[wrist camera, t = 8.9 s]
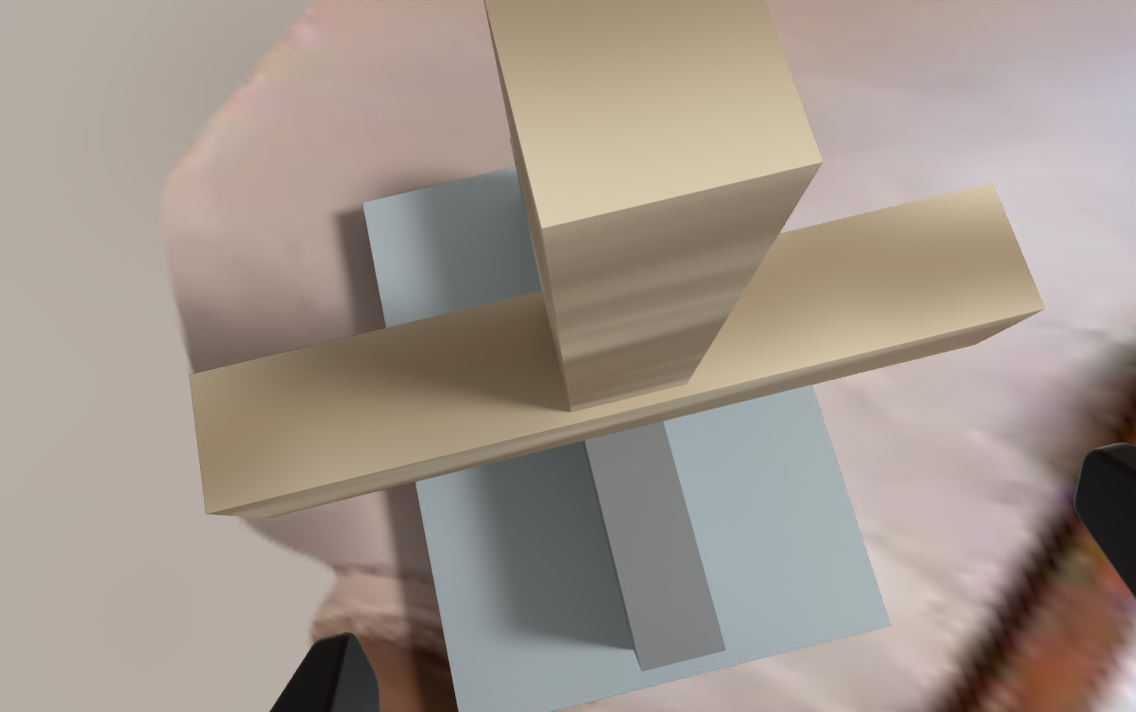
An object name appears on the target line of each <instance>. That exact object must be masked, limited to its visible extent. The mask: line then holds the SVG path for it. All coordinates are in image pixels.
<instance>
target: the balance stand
mask: <svg viewBox="0 0 1136 712" xmlns="http://www.w3.org/2000/svg"><path fill="white" fill-rule="evenodd" d="M510 141H511V146H512V150H513V155H514V160H515V165H516V167H514V168H509V169H505V170H501V171H497V172H492V173H488V174H484V175H479V176H475V177H471V178H467V179H462V180H458V181H454V182H449V183H445V184H441V185H437V186H432V187H428V188H424V189H419V190H415V191H411V192H407V193H402V194H398V195H394V196H389V197H385V198H381V199H377V200H372V201H368V202H364V203H363V208H364V213H365V219H366V224H367V229H368V235H369V240H370V245H371V250H372V256H373V261H374V266H375V272H376V277H377V282H378V288H379V293H380V298H381V303H382V309H383V314H384V319H385V325H386V328H387V327H392V326H396V325H400V324H404V323H408V322H413V321H417V320H421V319H425V318H429V317H433V316H438V315H442V314H446V313H450V312H454V311H459V310H463V309H467V308H471V307H475V306H479V305H484V304H488V303H492V302H496V301H500V300H505V299H509V298H513V297H517V296H521V295H526V294H530V293H534V292H538V291H542V290H541V285H540V280H539V275H538V270H537V265H536V260H535V255H534V250H533V245H532V240H531V235H530V230H529V225H528V220H527V215H526V210H525V205H524V200H523V194H522V189H521V184H520V179H519V174H518V169H517V164H516V159H515V154H514V149H513V144H512V139H511V138H510ZM415 484H416V489H417V494H418V499H419V505H420V510H421V515H422V521H423V526H424V531H425V537H426V542H427V547H428V552H429V558H430V563H431V568H432V574H433V579H434V584H435V590H436V595H437V600H438V605H439V611H440V616H441V621H442V627H443V632H444V637H445V642H446V648H447V653H448V658H449V664H450V669H451V674H452V680H453V685H454V690H455V695H456V701H457V706H458V711H459V712H552V711H556V710H560V709H564V708H568V707H572V706H576V705H580V704H583V703H587V702H591V701H595V700H599V699H603V698H607V697H611V696H615V695H619V694H623V693H627V692H631V691H635V690H639V689H642V688H646V687H650V686H654V685H658V684H662V683H666V682H670V681H674V680H678V679H682V678H686V677H690V676H694V675H698V674H701V673H705V672H709V671H713V670H717V669H721V668H725V667H729V666H733V665H737V664H741V663H745V662H749V661H753V660H757V659H760V658H764V657H768V656H772V655H776V654H780V653H784V652H788V651H792V650H796V649H800V648H804V647H808V646H812V645H815V644H819V643H823V642H827V641H831V640H835V639H839V638H843V637H847V636H851V635H855V634H859V633H863V632H867V631H871V630H874V629H878V628H882V627H886V626H890V625H891V624H890V621H889V618H888V615H887V612H886V609H885V606H884V603H883V600H882V597H881V594H880V590H879V587H878V584H877V581H876V578H875V575H874V572H873V569H872V566H871V563H870V560H869V557H868V554H867V551H866V548H865V545H864V542H863V539H862V536H861V532H860V529H859V526H858V523H857V520H856V517H855V514H854V511H853V508H852V505H851V502H850V499H849V496H848V493H847V490H846V487H845V484H844V481H843V477H842V474H841V471H840V468H839V465H838V462H837V459H836V456H835V453H834V450H833V447H832V444H831V441H830V438H829V435H828V432H827V429H826V426H825V423H824V419H823V416H822V413H821V410H820V407H819V404H818V401H817V398H816V395H815V392H814V389H813V386H812V385H809V386H805V387H801V388H796V389H792V390H788V391H784V392H780V393H776V394H772V395H768V396H764V397H760V398H756V399H752V400H748V401H743V402H739V403H735V404H731V405H727V406H723V407H719V408H715V409H711V410H707V411H703V412H699V413H694V414H690V415H686V416H682V417H678V418H674V419H670V420H666V421H662V422H658V423H654V424H650V425H645V426H641V427H637V428H633V429H629V430H625V431H621V432H617V433H613V434H609V435H605V436H601V437H597V438H592V439H588V440H584V441H580V442H576V443H572V444H568V445H564V446H560V447H556V448H552V449H548V450H543V451H539V452H535V453H531V454H527V455H523V456H519V457H515V458H511V459H507V460H503V461H499V462H495V463H490V464H486V465H482V466H478V467H474V468H470V469H466V470H462V471H458V472H454V473H450V474H446V475H441V476H437V477H433V478H429V479H425V480H421V481H417V482H415Z"/></svg>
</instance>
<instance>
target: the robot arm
mask: <svg viewBox="0 0 1136 712" xmlns="http://www.w3.org/2000/svg"><path fill="white" fill-rule="evenodd" d="M1074 504H1075V509H1076V512H1077V515H1078V517H1079V519H1080V520H1081V522H1082V523H1083V525H1084V526H1085V528H1086V529H1087V531H1088V532H1089V533H1090V535H1091V536H1092V538H1093V539H1094V541H1095V542H1096V543H1097V545H1098V546H1099V548H1100V549H1101V551H1102V552H1103V553H1104V555H1105V556H1106V558H1107V559H1108V561H1109V562H1110V563H1111V565H1112V566H1113V568H1114V569H1115V570H1116V572H1117V573H1118V575H1119V576H1120V578H1121V579H1122V580H1123V582H1124V583H1125V585H1126V586H1127V588H1128V589H1129V590H1130V592H1131V593H1132V595H1133V596H1134V598H1135V599H1136V446H1134V445H1131V444H1127V443H1116V444H1111V445H1107V446H1103V447H1099V448H1095V449H1092V450H1090V451H1088V452H1087V453H1086V454H1085V456H1084V458H1083V461H1082V465H1081V470H1080V474H1079V479H1078V483H1077V488H1076V492H1075V497H1074ZM270 712H380V706H379V689H378V683H377V678H376V675H375V673H374V671H373V669H372V667H371V665H370V663H369V661H368V659H367V657H366V655H365V653H364V651H363V649H362V647H361V645H360V643H359V641H358V639H357V638H356V636H355V635H354V634H352V633H350V632H345V633H341V634H337V635H333V636H329V637H324V638H321V639H319V640H318V641H317V642H315V643H314V644H313V646H312V647H311V649H310V650H309V652H308V653H307V655H306V657H305V658H304V660H303V661H302V663H301V664H300V666H299V667H298V669H297V670H296V672H295V673H294V675H293V677H292V678H291V680H290V681H289V683H288V684H287V686H286V687H285V689H284V690H283V692H282V693H281V695H280V697H279V698H278V700H277V701H276V703H275V704H274V706H273V707H272V709H271V710H270Z"/></svg>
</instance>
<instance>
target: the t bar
mask: <svg viewBox="0 0 1136 712" xmlns="http://www.w3.org/2000/svg"><path fill="white" fill-rule="evenodd" d="M484 3H485V8H486V13H487V18H488V24H489V29H490V34H491V39H492V44H493V49H494V54H495V59H496V64H497V69H498V74H499V79H500V84H501V89H502V94H503V99H504V104H505V109H506V114H507V119H508V124H509V129H510V134H511V139H512V144H513V149H514V154H515V159H516V164H517V169H518V174H519V179H520V184H521V189H522V194H523V200H524V205H525V210H526V215H527V220H528V225H529V230H530V235H531V240H532V245H533V250H534V255H535V260H536V265H537V270H538V275H539V280H540V285H541V290H542V291H538V292H534V293H530V294H526V295H521V296H517V297H513V298H509V299H505V300H500V301H496V302H492V303H488V304H484V305H479V306H475V307H471V308H467V309H463V310H459V311H454V312H450V313H446V314H442V315H438V316H433V317H429V318H425V319H421V320H417V321H413V322H408V323H404V324H400V325H396V326H392V327H387V328H383V329H379V330H375V331H371V332H367V333H362V334H358V335H354V336H350V337H346V338H341V339H337V340H333V341H329V342H325V343H321V344H316V345H312V346H308V347H304V348H300V349H295V350H291V351H287V352H283V353H279V354H274V355H270V356H266V357H262V358H258V359H254V360H249V361H245V362H241V363H237V364H233V365H228V366H224V367H220V368H216V369H212V370H208V371H203V372H199V373H195V374H191V375H189V377H190V386H191V393H192V402H193V410H194V419H195V427H196V435H197V443H198V452H199V460H200V469H201V477H202V485H203V493H204V502H205V510H206V514H215V515H229V516H243V517H257V518H270V517H274V516H278V515H282V514H286V513H291V512H295V511H299V510H303V509H307V508H311V507H315V506H319V505H323V504H327V503H331V502H335V501H339V500H344V499H348V498H352V497H356V496H360V495H364V494H368V493H372V492H376V491H380V490H384V489H388V488H393V487H397V486H401V485H405V484H409V483H413V482H417V481H421V480H425V479H429V478H433V477H437V476H441V475H446V474H450V473H454V472H458V471H462V470H466V469H470V468H474V467H478V466H482V465H486V464H490V463H495V462H499V461H503V460H507V459H511V458H515V457H519V456H523V455H527V454H531V453H535V452H539V451H543V450H548V449H552V448H556V447H560V446H564V445H568V444H572V443H576V442H580V441H584V440H588V439H592V438H597V437H601V436H605V435H609V434H613V433H617V432H621V431H625V430H629V429H633V428H637V427H641V426H645V425H650V424H654V423H658V422H662V421H666V420H670V419H674V418H678V417H682V416H686V415H690V414H694V413H699V412H703V411H707V410H711V409H715V408H719V407H723V406H727V405H731V404H735V403H739V402H743V401H748V400H752V399H756V398H760V397H764V396H768V395H772V394H776V393H780V392H784V391H788V390H792V389H796V388H801V387H805V386H809V385H813V384H817V383H821V382H825V381H829V380H833V379H837V378H841V377H845V376H850V375H854V374H858V373H862V372H866V371H870V370H874V369H878V368H882V367H886V366H890V365H894V364H898V363H903V362H907V361H911V360H915V359H919V358H923V357H927V356H931V355H935V354H939V353H943V352H947V351H952V350H956V349H960V348H964V347H968V346H972V345H975V344H977V343H979V342H981V341H983V340H985V339H987V338H989V337H991V336H993V335H995V334H997V333H999V332H1001V331H1003V330H1005V329H1007V328H1009V327H1011V326H1013V325H1015V324H1017V323H1018V322H1020V321H1022V320H1024V319H1026V318H1028V317H1030V316H1032V315H1034V314H1036V313H1038V312H1040V311H1042V310H1044V309H1045V307H1044V305H1043V302H1042V300H1041V297H1040V295H1039V293H1038V290H1037V288H1036V285H1035V283H1034V281H1033V278H1032V276H1031V273H1030V271H1029V269H1028V266H1027V264H1026V261H1025V259H1024V257H1023V254H1022V252H1021V249H1020V247H1019V245H1018V242H1017V240H1016V237H1015V235H1014V233H1013V230H1012V228H1011V225H1010V223H1009V221H1008V218H1007V216H1006V213H1005V211H1004V209H1003V206H1002V204H1001V201H1000V199H999V197H998V194H997V192H996V189H995V187H994V185H993V183H990V184H986V185H982V186H977V187H973V188H969V189H965V190H961V191H956V192H952V193H948V194H944V195H940V196H935V197H931V198H927V199H923V200H919V201H915V202H910V203H906V204H902V205H898V206H894V207H889V208H885V209H881V210H877V211H873V212H869V213H864V214H860V215H856V216H852V217H848V218H843V219H839V220H835V221H831V222H827V223H823V224H818V225H814V226H810V227H806V228H802V229H797V230H793V231H789V232H785V233H781V234H779V233H780V231H781V230H782V228H783V226H784V225H785V223H786V221H787V220H788V218H789V217H790V215H791V213H792V212H793V210H794V208H795V207H796V205H797V203H798V202H799V200H800V198H801V197H802V195H803V194H804V192H805V190H806V189H807V187H808V185H809V184H810V182H811V180H812V179H813V177H814V176H815V174H816V172H817V171H818V169H819V167H820V166H821V164H822V162H823V161H822V158H821V156H820V153H819V150H818V147H817V145H816V142H815V139H814V136H813V133H812V131H811V128H810V125H809V122H808V119H807V117H806V114H805V111H804V108H803V105H802V103H801V100H800V97H799V94H798V92H797V89H796V86H795V83H794V80H793V78H792V75H791V72H790V69H789V66H788V64H787V61H786V58H785V55H784V52H783V50H782V47H781V44H780V41H779V38H778V36H777V33H776V30H775V27H774V25H773V22H772V19H771V16H770V13H769V11H768V8H767V5H766V2H765V0H484Z"/></svg>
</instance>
